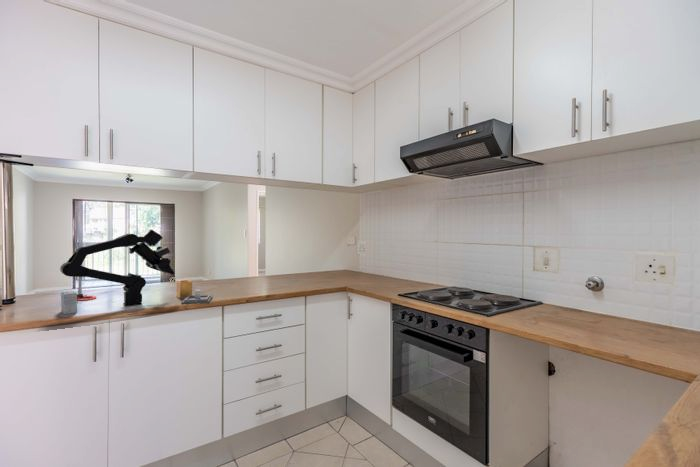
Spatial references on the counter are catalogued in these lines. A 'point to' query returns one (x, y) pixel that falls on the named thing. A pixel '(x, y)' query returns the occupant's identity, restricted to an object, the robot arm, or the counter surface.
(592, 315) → the counter surface
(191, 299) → the post plate
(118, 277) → the robot arm
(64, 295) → the medicine box
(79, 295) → the tow hook
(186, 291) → the orange wooden block
